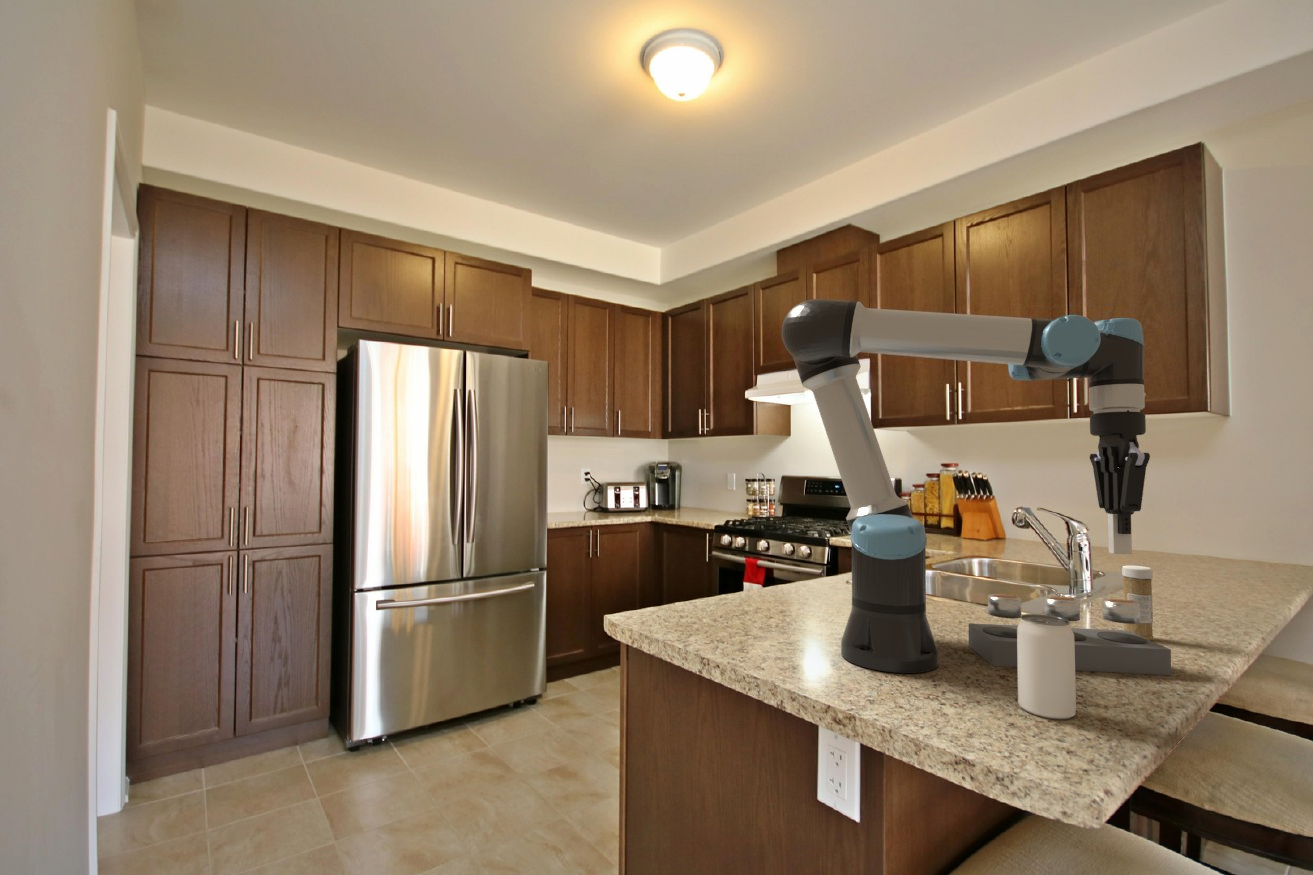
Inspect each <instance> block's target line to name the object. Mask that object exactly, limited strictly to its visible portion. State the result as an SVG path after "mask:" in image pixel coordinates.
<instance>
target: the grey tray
mask: <svg viewBox="0 0 1313 875" xmlns="http://www.w3.org/2000/svg"><path fill="white" fill-rule="evenodd" d="M1017 627H1018V625H1014V624H1011V625H1009V624H994V623H993V624H992V623H988V624H987V623H970V622H969V623H968V647H969V648H971V649H972V650H973V651H974V652H975V653H977V654H978V655H979V656H980V657H981V658H983V659H984V660H986V662H988V664H990V665H991V666H993V667H995V666H996V667H1011V668H1018V665H1017ZM1070 628H1071V630H1072V631H1073V633H1074V643H1075V671H1083V672H1100V673H1101V672H1102V673H1119V674H1135V675H1136V674H1138V675H1139V674H1141V675H1154V676H1155V675H1156V676H1157V675H1158V676H1172V652H1171V650H1172V649H1170V648H1168V647H1166V646H1164V645H1162V644H1160V643H1157V642H1155V641H1153V640H1148V639H1146V638H1144V637H1141V636H1139V635H1137V634H1135V633H1132V632H1130V631H1125V630H1124V629H1122V630H1119V629H1104V628H1103V629H1101V628H1100V629H1097V628H1079V627H1076V628H1075V627H1070Z"/></svg>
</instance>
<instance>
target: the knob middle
mask: <svg viewBox="0 0 1313 875" xmlns="http://www.w3.org/2000/svg"><path fill="white" fill-rule="evenodd" d="M1043 600H1044V601H1043V602H1044V604H1043V606H1044V609H1043V610H1044V612H1043V613H1044V615H1049V616H1055V617H1059V618H1063V619H1066V620H1068V621H1070V622H1078V621H1080V620H1081V601H1080V600H1079V599H1077V598H1074V597H1066V596H1055V595H1049V596H1044V598H1043Z"/></svg>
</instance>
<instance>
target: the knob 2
mask: <svg viewBox="0 0 1313 875" xmlns="http://www.w3.org/2000/svg"><path fill="white" fill-rule="evenodd" d="M1101 606H1102V609H1101V610H1102V611H1101V612H1102V619H1103V620H1105V621H1109V622H1112V623H1118V624H1119V623H1120V624H1124V623H1126V624H1139V623H1140V603H1138V602H1134V601H1133V600H1124V599H1122V598H1111V597H1110V598H1109V597H1107V598H1102V599H1101Z"/></svg>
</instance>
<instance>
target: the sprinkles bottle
mask: <svg viewBox="0 0 1313 875" xmlns="http://www.w3.org/2000/svg"><path fill="white" fill-rule="evenodd" d="M1121 572H1122V573H1121V575H1122V576H1123V578H1122V579H1123V599H1124V600H1133V601H1134V602H1138V603H1140V623H1139V624H1126V623H1123V625H1124V627H1123V628H1124V629H1123V630H1124V631H1130V632H1132V633H1135V634H1137V635H1139V636H1141V637H1144V638H1146V639H1148V640H1150V641H1153V640H1154V635H1153V622H1154V620H1153V619H1154V618H1153V617H1154V616H1153V613H1154V611H1153V592H1152V591H1153V589H1152V588H1153V587H1152V586H1153V585H1152V581H1153V577H1154V576H1153V569H1152V567H1148V566H1144V565H1143V566H1142V565H1141V566H1140V565H1132V564H1131V565H1129V564H1127V565H1123V566H1121Z"/></svg>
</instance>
